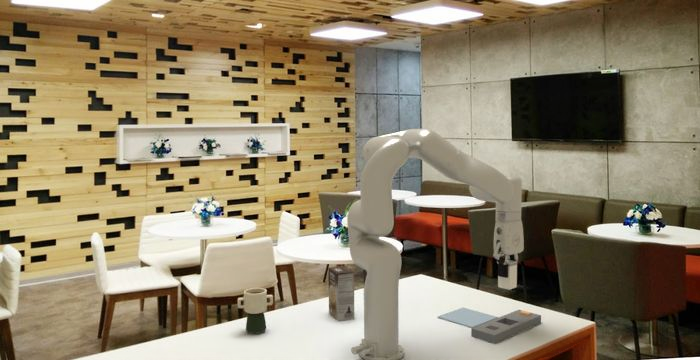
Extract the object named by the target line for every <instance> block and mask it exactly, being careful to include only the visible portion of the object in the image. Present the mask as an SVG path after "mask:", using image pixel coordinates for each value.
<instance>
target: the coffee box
mask: <svg viewBox="0 0 700 360" xmlns="http://www.w3.org/2000/svg"><path fill="white" fill-rule="evenodd" d="M328 313H329V315H331V316H332V317H333V318H334V319H335V320H336V321H337V322H341V321H347V320H348V321H349V320H355V271H354V270H352V269H351V268H349V267H347V266H346V265H340V266H331V267H328Z"/></svg>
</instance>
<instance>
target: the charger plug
mask: <svg viewBox="0 0 700 360" xmlns="http://www.w3.org/2000/svg"><path fill="white" fill-rule="evenodd" d="M507 265H508V277H507V278H505V277H500V276H498V275H497V287H498V288H500V289H504V290H510V291H511V290H512V289H515V288H517V287H518V286H517V285H518V284H517V283H518V282H517V281H518V262H516V261H511V260H508V259H507Z"/></svg>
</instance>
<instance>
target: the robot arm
mask: <svg viewBox="0 0 700 360" xmlns="http://www.w3.org/2000/svg"><path fill="white" fill-rule="evenodd" d="M362 155H363V158H364V160H365V162H366V164H365V165H364V168H363V170H362V172H361V175H360V183H359V189H360V199H358V200H357V199H356V201H354V202H353V203H352V204H351V206H350V208H349V209H348V214H347V219H346V221H347V235H348V246H349V253H350V258H351V260H352V262H353V263H354V264H355V265H356V266H357V267H359V268H361V269H362V270H364V271H366V277H365V281H364V283H363V284H364V286H363V336H364V337H363V338H361V343H360V344H359V345H357V346H353V347H352V348H351V349H350V350H351V354H352V355H354V356H355V355H359V357H361V359H364V360H400V359H402V358H403V357H404V356H405V349H404V347H403V346H402V345H400V344H399V342H400V340H399V337H400V335H399V332H400V331H399V327H400V326H399V322H400V321H399V285H400V284H399V283H400V275H401V270H402V255H401V252H400V251H399V250H398V248H397V246H395V245H394V244H393V243H391V242H389V241H386V240H383V239H380V237H381V238H382V237H386V236H387V235H389V234H390V233H391V232H392V230H393V228H394V224H395V221H394V220H395V219H394V217H395V216H394V206H393V194H392V193H393V192H392V191H393V190H392V189H393V179H394V177H395V175H396V173H397V172H398V171H399V169H401V167H403V165H405V163H406V162H407V161H408V159H419V160H421V161H423V162H424V163H425V164H427V165H429V166H430V167H432V168H433V169H434V170H436V171H437V172H439V173H440V174H441V175H443V176H444V177H446V178H448V179H450V180H452V181H455V182H459V183H464V184H466V185H469V192H470V195H471V196H472V197H473V198H474V199H476V200H478V201H483V202H488V203H489V202H490V203H495V223H494V224H495V225H494V231H493V254H492V257H494V259H495V260H496V263H497V277H498V276H500V277H505V278H507V277H508V265H507V260H511V261H516V262H517V263H518V262H519V256H520V254H521V253H522V252H524V249H525V246H524V245H525V244H524V243H525V240H524V239H525V237H524V226H523V221H522V198H523V197H522V193H523V192H522V190H523V188H522V187H523V186H522V184H523V183H522V182H523V181H522V179H521V177H519V176H516V175H505V174H504V173H502V172H501V171H499V170H498V169H496V168H495V167H493V166H491V165H489V164H488V163H486V162H483V161H481V160H479V159H477V158H476V157H474V156H471V155H469V154H467V153H465V152H464V151H462V150H461V149H459V148H458V147H456V146H455V145H454V144H452V143H451V142H450V141H448V140H447V139H446V138H444V137H443V136H441V134H439V133H437V132H436V131H434V130H432V129H430V128H411V129H406V130H401V131H397V132H393V133H388V134H384V135H378V136H375V137H371V138H370V139H369V140H367V141H366V143H365V144H364V145H363V150H362Z"/></svg>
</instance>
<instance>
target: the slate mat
mask: <svg viewBox="0 0 700 360" xmlns="http://www.w3.org/2000/svg"><path fill="white" fill-rule="evenodd" d="M437 318H438V319H441V320H444V321H446V322H450V323H454V324H457V325H460V326H463V327H466V328H470V329H471V328H474V327H476V326H479V325H481V324H484V323H486V322H489V321H491V320H494V319H496V318H499V316H496V315H492V314H488V313H485V312H481V311H477V310H474V309H470V308H466V307H460V308H457V309H455V310H453V311H449V312H446V313H444V314H440V315H437Z"/></svg>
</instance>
